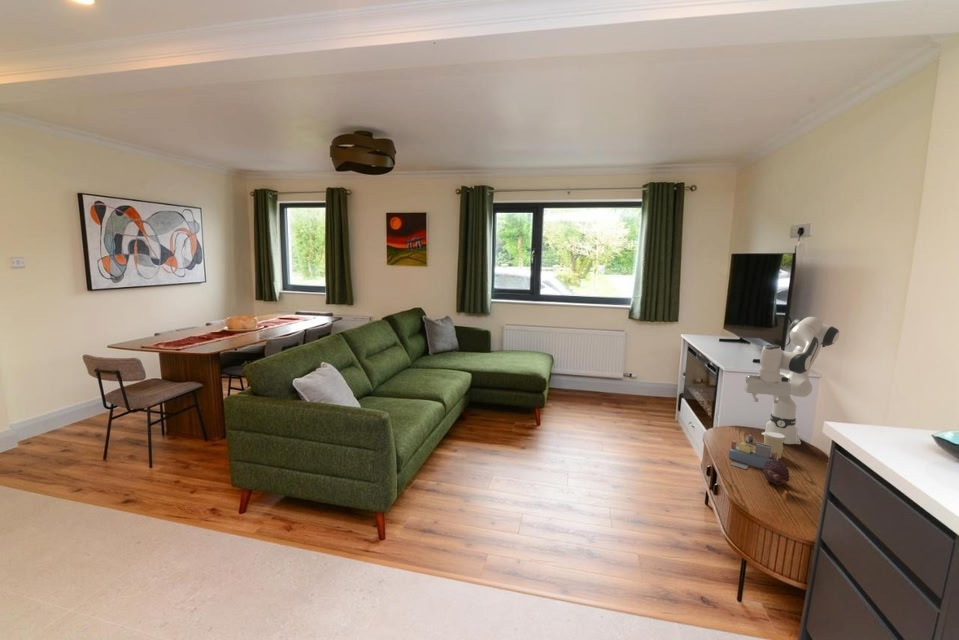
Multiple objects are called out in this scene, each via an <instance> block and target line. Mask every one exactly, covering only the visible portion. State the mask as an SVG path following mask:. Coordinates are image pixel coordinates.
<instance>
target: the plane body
mask: <svg viewBox="0 0 959 640" xmlns="http://www.w3.org/2000/svg"><path fill="white" fill-rule="evenodd" d="M756 443H759V444H763V445H764V446H762V445H758V444H756V446H755V450H753V452H752V453H750V454H747V453H743V452H740V451H739V446H737V440H734V439H732V441H731V446H730V449H729V451H728V452H729V453H728V459H730V460H732V461H736V462H739V463H743V464H746V465H749V466H752V467H755V468H758V469H762V470H763V468H764V465H765V463H766V462H767V461H773V460H774V461H775V460H776V461H778V462H779V458H778V457H777V454H778V453H777V452H775V451H772V454H771V447H772V446H771V445H767V444H764V442H763V443H762V442H756Z"/></svg>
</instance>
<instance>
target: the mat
mask: <svg viewBox="0 0 959 640" xmlns="http://www.w3.org/2000/svg"><path fill="white" fill-rule="evenodd" d="M730 466H732V467H735V468H739V469H741V470H748V469H749V467H750V465H748V464H745V463H742V462H739V461H736V460H732V462H731V463H730Z"/></svg>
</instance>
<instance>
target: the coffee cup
mask: <svg viewBox="0 0 959 640" xmlns="http://www.w3.org/2000/svg"><path fill="white" fill-rule="evenodd" d="M764 432H765V431H764ZM763 436H764V437H763V438H764V439H763V444H767V445H771V446H772V447H771V454H772V451H775V452H777V453H778V454H777V457H778V459H782V456H783V450H784V447H785V444H784V442H785V436H784V435H782V434H780V433H776V432H765V433H764V435H763Z"/></svg>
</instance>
